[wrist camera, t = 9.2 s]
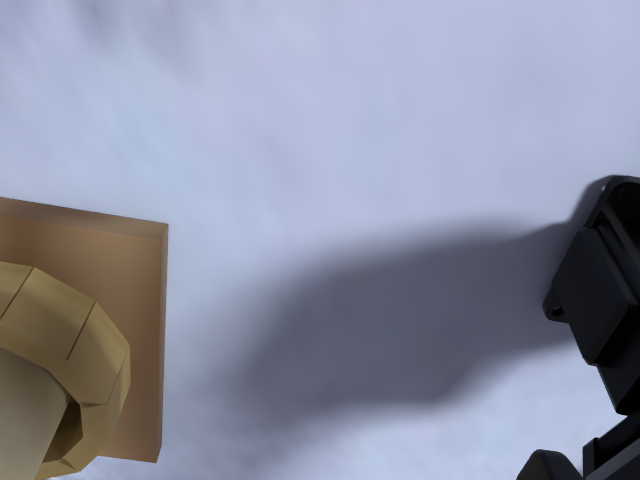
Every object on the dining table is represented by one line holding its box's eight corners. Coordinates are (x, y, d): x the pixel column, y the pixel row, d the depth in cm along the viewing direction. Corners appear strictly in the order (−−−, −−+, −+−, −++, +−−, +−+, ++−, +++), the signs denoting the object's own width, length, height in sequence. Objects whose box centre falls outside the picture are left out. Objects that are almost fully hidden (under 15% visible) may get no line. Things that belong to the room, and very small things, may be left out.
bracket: (168, 224, 23) (139, 296, 19) (161, 445, 31) (139, 522, 28) (-171, 169, 22) (-261, 236, 19) (-84, 412, 30) (-136, 488, 27)
